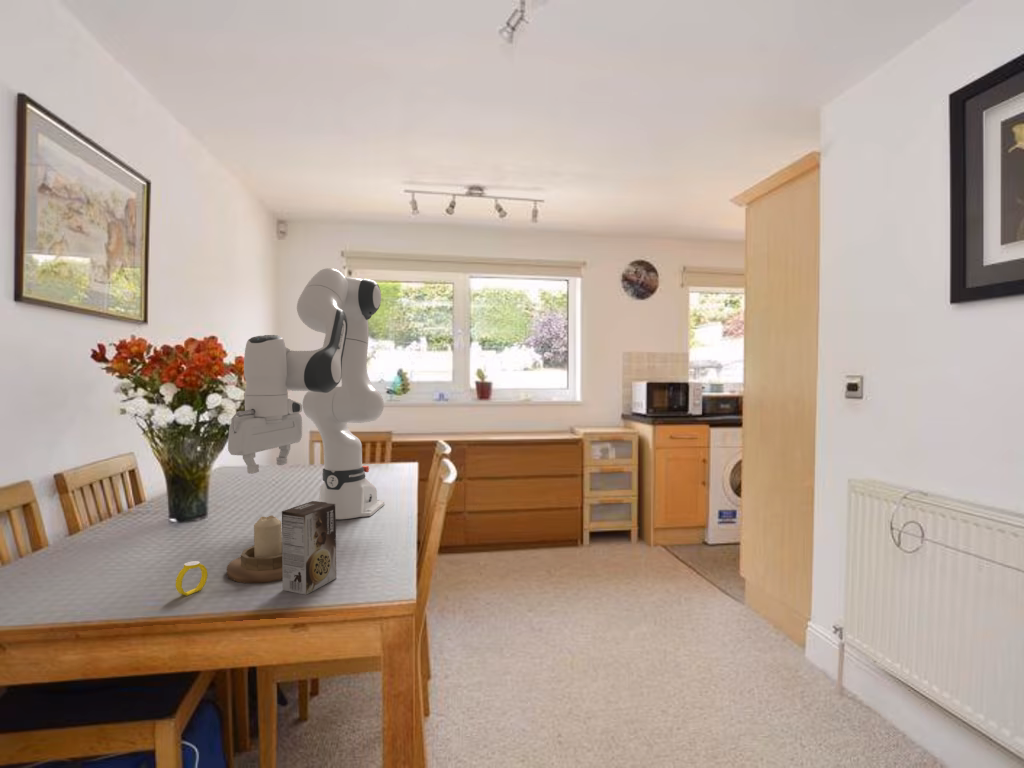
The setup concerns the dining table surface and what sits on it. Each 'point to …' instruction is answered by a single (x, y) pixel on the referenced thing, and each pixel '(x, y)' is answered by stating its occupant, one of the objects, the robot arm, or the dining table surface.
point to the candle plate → (255, 568)
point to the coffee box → (308, 546)
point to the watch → (181, 574)
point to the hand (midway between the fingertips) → (268, 468)
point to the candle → (267, 537)
